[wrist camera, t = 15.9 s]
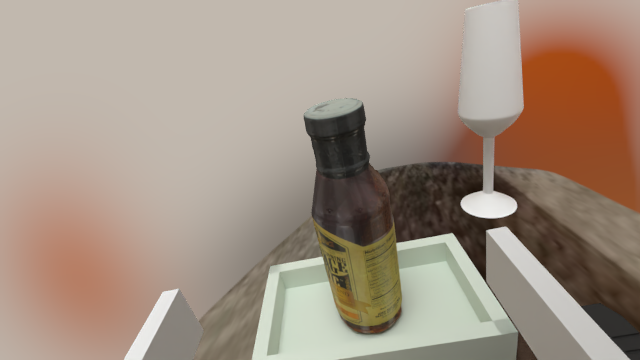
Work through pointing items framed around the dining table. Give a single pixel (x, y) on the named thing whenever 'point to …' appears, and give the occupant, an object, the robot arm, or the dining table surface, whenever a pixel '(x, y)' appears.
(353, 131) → the sauce bottle
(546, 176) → the dining table surface
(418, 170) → the dining table surface
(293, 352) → the tray
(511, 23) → the champagne flute
